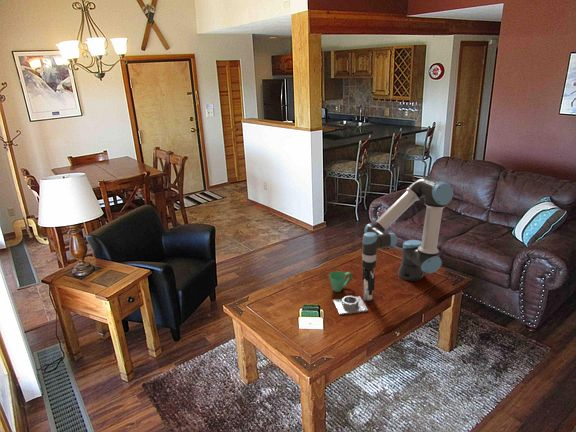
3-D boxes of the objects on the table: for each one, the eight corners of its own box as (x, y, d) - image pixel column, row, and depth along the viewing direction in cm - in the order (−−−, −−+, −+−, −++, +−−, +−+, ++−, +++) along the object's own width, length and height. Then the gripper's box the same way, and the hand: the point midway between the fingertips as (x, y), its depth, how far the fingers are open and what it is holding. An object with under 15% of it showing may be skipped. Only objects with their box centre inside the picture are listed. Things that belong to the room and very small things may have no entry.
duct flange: (359, 297, 231) (360, 291, 230) (368, 311, 218) (368, 305, 217) (332, 301, 229) (332, 295, 228) (339, 315, 216) (339, 308, 215)
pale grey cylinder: (370, 296, 232) (371, 277, 228) (373, 300, 228) (374, 281, 223) (362, 297, 232) (362, 278, 227) (365, 301, 227) (365, 282, 223)
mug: (335, 295, 234) (335, 280, 230) (326, 288, 242) (325, 273, 238) (355, 288, 240) (355, 274, 237) (345, 281, 248) (345, 267, 245)
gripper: (357, 253, 229) (356, 288, 237) (368, 268, 212) (366, 305, 220) (369, 251, 230) (368, 287, 238) (381, 266, 213) (380, 304, 221)
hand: (367, 296), depth 229 cm, fingers open, 5 cm apart
